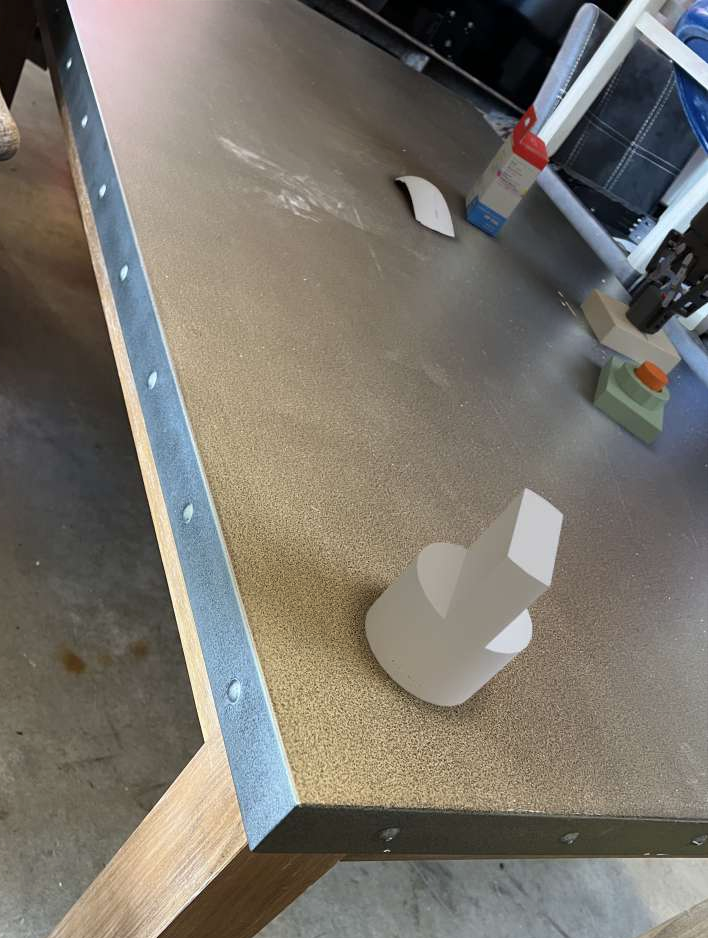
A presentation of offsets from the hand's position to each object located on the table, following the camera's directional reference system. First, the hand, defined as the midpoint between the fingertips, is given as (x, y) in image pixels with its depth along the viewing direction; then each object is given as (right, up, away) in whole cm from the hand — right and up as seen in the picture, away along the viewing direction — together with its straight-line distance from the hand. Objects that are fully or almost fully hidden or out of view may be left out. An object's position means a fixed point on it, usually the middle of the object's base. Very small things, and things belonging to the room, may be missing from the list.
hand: (640, 319), depth 129 cm
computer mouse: (-30, +14, -3) cm, 33 cm away
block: (-7, -14, -14) cm, 21 cm away
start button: (-6, -12, -16) cm, 21 cm away
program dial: (0, 0, 0) cm, 0 cm away
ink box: (-20, +16, +6) cm, 26 cm away
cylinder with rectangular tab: (-40, -41, -63) cm, 85 cm away
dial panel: (-2, -2, +2) cm, 4 cm away
